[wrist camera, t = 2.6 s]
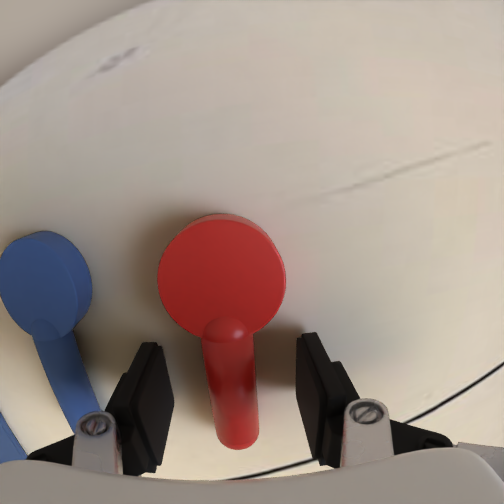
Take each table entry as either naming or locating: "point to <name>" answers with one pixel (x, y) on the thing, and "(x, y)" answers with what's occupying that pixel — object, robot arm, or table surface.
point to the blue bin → (9, 444)
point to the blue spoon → (51, 311)
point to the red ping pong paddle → (224, 310)
